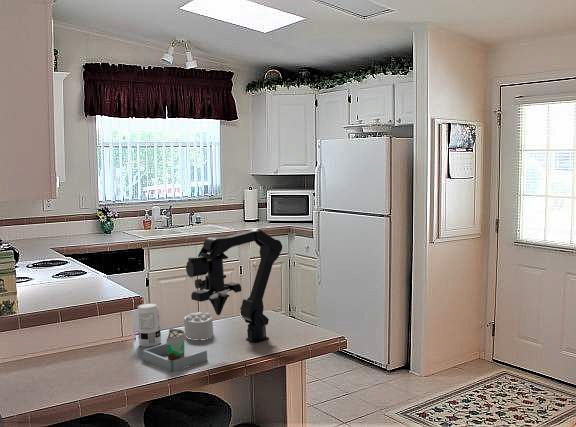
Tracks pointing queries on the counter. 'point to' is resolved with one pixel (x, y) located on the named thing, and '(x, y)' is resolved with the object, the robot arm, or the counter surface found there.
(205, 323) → the lumpy-topped squat cylinder
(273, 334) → the counter surface
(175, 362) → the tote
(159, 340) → the supplement can
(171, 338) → the food container
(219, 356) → the counter surface
